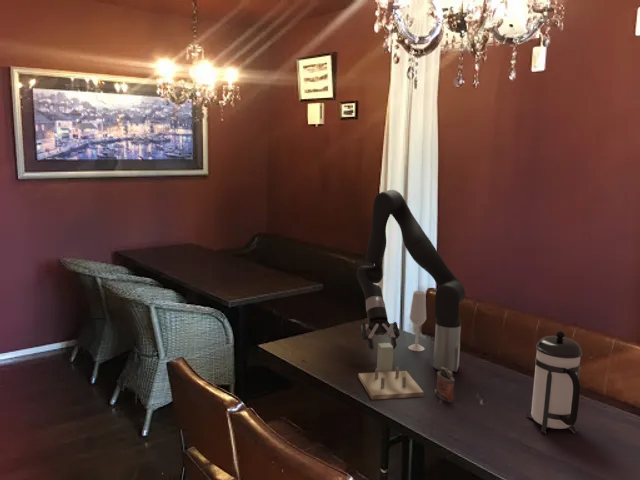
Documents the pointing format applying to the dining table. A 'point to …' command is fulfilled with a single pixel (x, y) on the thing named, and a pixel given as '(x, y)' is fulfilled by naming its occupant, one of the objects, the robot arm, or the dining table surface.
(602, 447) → the dining table surface
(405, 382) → the peg board
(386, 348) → the sage block
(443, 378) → the lighter
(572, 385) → the coffee press
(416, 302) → the champagne flute
